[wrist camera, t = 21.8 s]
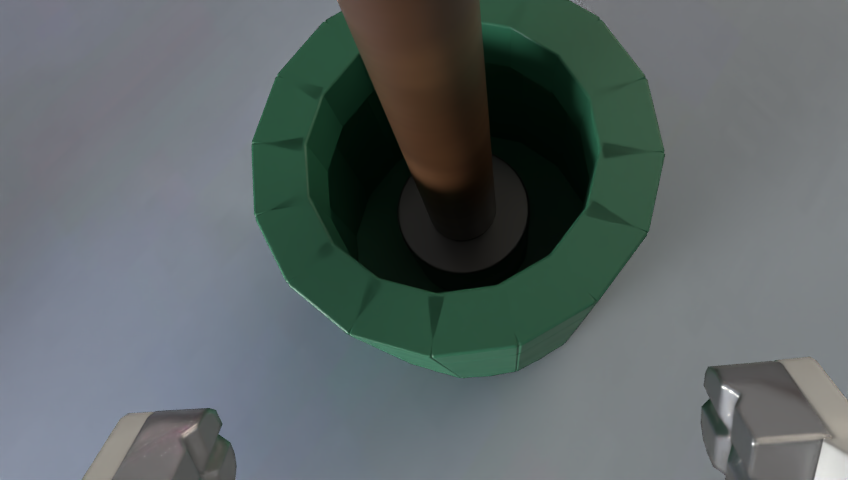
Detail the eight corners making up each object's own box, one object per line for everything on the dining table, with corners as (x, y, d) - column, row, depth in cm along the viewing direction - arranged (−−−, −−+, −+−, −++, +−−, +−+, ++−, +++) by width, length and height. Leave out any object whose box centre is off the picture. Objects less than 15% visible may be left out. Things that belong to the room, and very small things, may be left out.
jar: (655, 221, 24) (747, 99, 15) (497, 433, 23) (487, 450, 14) (449, 88, 27) (416, -87, 18) (299, 272, 26) (174, 191, 16)
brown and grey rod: (526, 186, 25) (553, -250, 8) (528, 296, 23) (564, 39, 7) (416, 188, 25) (242, -214, 9) (412, 295, 24) (206, 58, 8)
